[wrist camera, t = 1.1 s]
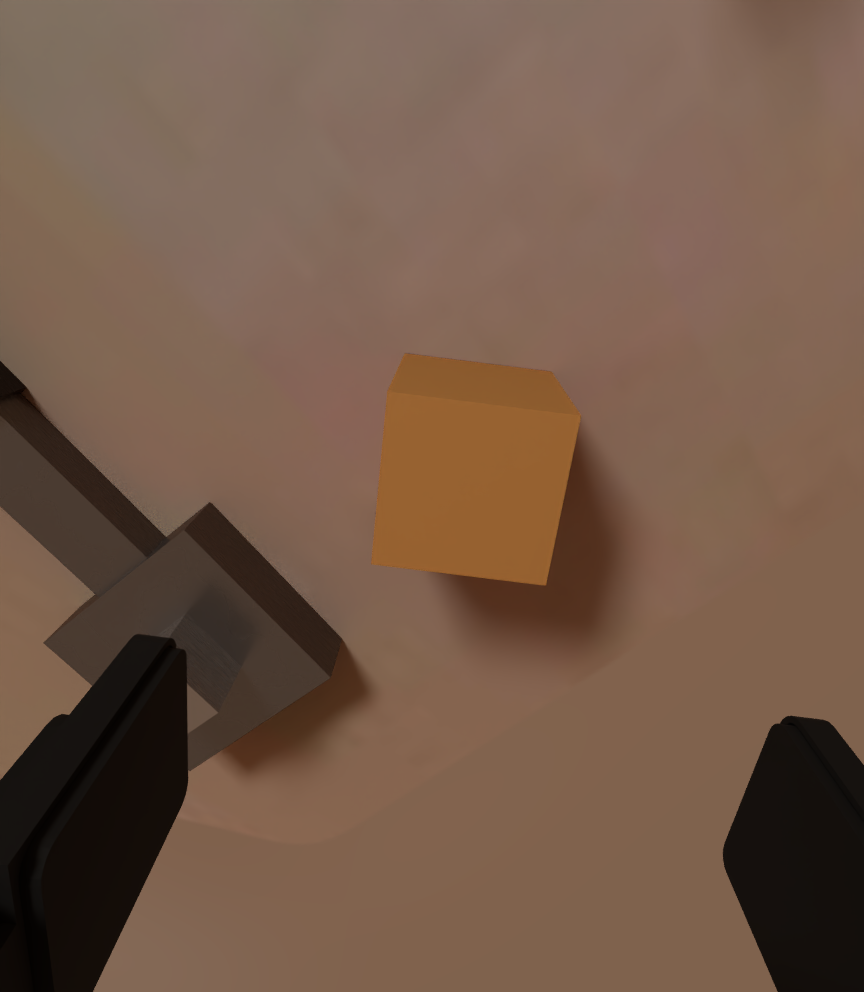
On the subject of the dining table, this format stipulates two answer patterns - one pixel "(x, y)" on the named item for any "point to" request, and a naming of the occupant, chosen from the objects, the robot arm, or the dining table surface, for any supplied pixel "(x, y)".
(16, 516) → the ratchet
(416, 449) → the orange cube
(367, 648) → the dining table surface
